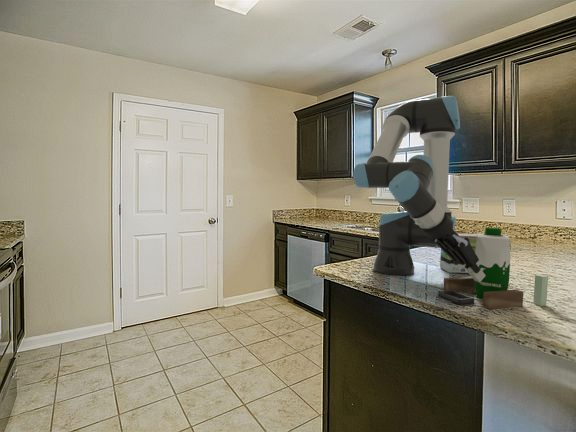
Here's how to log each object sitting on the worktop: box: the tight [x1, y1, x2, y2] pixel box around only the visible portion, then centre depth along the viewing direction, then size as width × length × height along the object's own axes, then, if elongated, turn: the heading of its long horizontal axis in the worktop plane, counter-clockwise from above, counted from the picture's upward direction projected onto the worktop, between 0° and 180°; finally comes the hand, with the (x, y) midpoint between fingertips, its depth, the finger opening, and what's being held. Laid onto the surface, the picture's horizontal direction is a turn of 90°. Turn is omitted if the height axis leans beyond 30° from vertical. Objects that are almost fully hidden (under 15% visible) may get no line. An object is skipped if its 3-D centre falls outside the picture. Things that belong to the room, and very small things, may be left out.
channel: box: [442, 275, 524, 310], centre depth 95 cm, size 17×11×4 cm, turn 15°
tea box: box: [439, 232, 479, 274], centre depth 129 cm, size 15×10×15 cm, turn 86°
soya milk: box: [474, 227, 512, 299], centre depth 96 cm, size 9×9×20 cm
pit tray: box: [437, 290, 475, 306], centre depth 93 cm, size 8×5×2 cm, turn 15°
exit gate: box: [532, 274, 549, 307], centre depth 98 cm, size 19×2×8 cm, turn 15°
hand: (480, 278), depth 94 cm, fingers closed
